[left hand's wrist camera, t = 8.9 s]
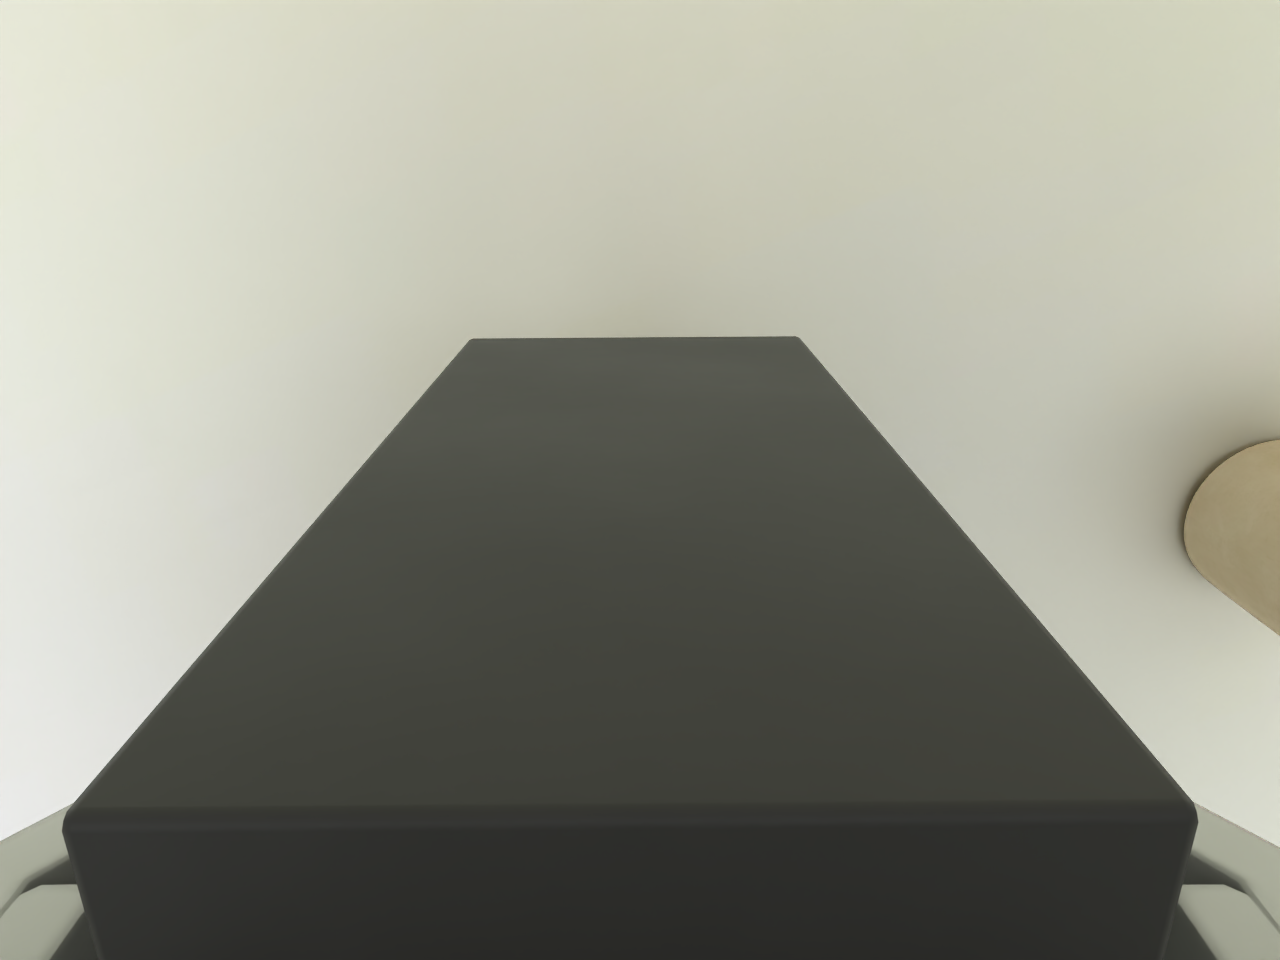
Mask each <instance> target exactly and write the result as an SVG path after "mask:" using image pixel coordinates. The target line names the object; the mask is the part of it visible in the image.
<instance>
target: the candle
mask: <svg viewBox="0 0 1280 960" xmlns="http://www.w3.org/2000/svg"><path fill="white" fill-rule="evenodd" d="M1184 542H1185V546H1186V551H1187V553H1188V556H1189V558H1190V560H1191V562H1192V563H1193V565H1194V566H1195V568H1196V569H1197V570H1198V571H1199V572H1200V573H1201V575H1202V576H1203V577H1204V578H1205V579H1206V580H1208V581H1209V582H1210V583H1211V584H1212V585H1214V586H1215V587H1216V588H1217V589H1219V590H1220V591H1221V592H1222V593H1224V594H1225V595H1226V596H1228V597H1229V598H1230V599H1231V600H1233V601H1234V602H1235V603H1237V604H1238V605H1239V606H1241V607H1242V608H1243V609H1245V610H1246V611H1247V612H1249V613H1250V614H1251V615H1253V616H1254V617H1255V618H1257V619H1258V620H1259V621H1261V622H1262V623H1263V624H1265V625H1266V626H1267V627H1269V628H1270V629H1271V630H1273V631H1274V632H1275V633H1277V634H1278V635H1279V636H1280V440H1274V441H1268V442H1264V443H1260V444H1257V445H1254V446H1251V447H1249V448H1246V449H1244V450H1242V451H1240V452H1238V453H1236V454H1235V455H1233V456H1232V457H1230V458H1228V459H1227V460H1226V461H1224V462H1223V463H1222V464H1220V465H1219V466H1218V467H1217V468H1216V469H1215V470H1214V471H1213V472H1212V473H1211V474H1210V475H1209V476H1208V477H1207V478H1206V479H1205V480H1204V482H1203V483H1202V484H1201V486H1200V487H1199V489H1198V490H1197V492H1196V493H1195V495H1194V497H1193V499H1192V501H1191V503H1190V505H1189V508H1188V511H1187V514H1186V519H1185V524H1184Z"/></svg>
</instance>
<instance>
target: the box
mask: <svg viewBox="0 0 1280 960" xmlns="http://www.w3.org/2000/svg"><path fill="white" fill-rule="evenodd" d="M1197 826H1198V816H1197V811H1196V808H1195V805H1194V803H1193V801H1192V800H1191V799H1190V798H1189V797H1188V796H1187V794H1186V793H1185V792H1184V791H1183V790H1182V788H1181V787H1180V786H1179V785H1178V784H1177V783H1176V781H1175V780H1174V779H1173V778H1172V777H1171V776H1170V774H1169V773H1168V772H1167V771H1166V770H1165V768H1164V767H1163V766H1162V765H1161V764H1160V763H1159V761H1158V760H1157V759H1156V758H1155V757H1154V755H1153V754H1152V753H1151V752H1150V751H1149V750H1148V748H1147V747H1146V746H1145V745H1144V744H1143V743H1142V741H1141V740H1140V739H1139V738H1138V737H1137V735H1136V734H1135V733H1134V732H1133V731H1132V730H1131V728H1130V727H1129V726H1128V725H1127V724H1126V722H1125V721H1124V720H1123V719H1122V718H1121V717H1120V715H1119V714H1118V713H1117V712H1116V711H1115V710H1114V708H1113V707H1112V706H1111V705H1110V704H1109V702H1108V701H1107V700H1106V699H1105V698H1104V697H1103V695H1102V694H1101V693H1100V692H1099V691H1098V689H1097V688H1096V687H1095V686H1094V685H1093V684H1092V682H1091V681H1090V680H1089V679H1088V678H1087V676H1086V675H1085V674H1084V673H1083V672H1082V671H1081V669H1080V668H1079V667H1078V666H1077V665H1076V664H1075V662H1074V661H1073V660H1072V659H1071V658H1070V656H1069V655H1068V654H1067V653H1066V652H1065V651H1064V649H1063V648H1062V647H1061V646H1060V645H1059V643H1058V642H1057V641H1056V640H1055V639H1054V638H1053V636H1052V635H1051V634H1050V633H1049V632H1048V631H1047V629H1046V628H1045V627H1044V626H1043V625H1042V623H1041V622H1040V621H1039V620H1038V619H1037V618H1036V616H1035V615H1034V614H1033V613H1032V612H1031V610H1030V609H1029V608H1028V607H1027V606H1026V605H1025V603H1024V602H1023V601H1022V600H1021V599H1020V598H1019V596H1018V595H1017V594H1016V593H1015V592H1014V590H1013V589H1012V588H1011V587H1010V586H1009V585H1008V583H1007V582H1006V581H1005V580H1004V579H1003V577H1002V576H1001V575H1000V574H999V573H998V572H997V570H996V569H995V568H994V567H993V566H992V565H991V563H990V562H989V561H988V560H987V559H986V557H985V556H984V555H983V554H982V553H981V552H980V550H979V549H978V548H977V547H976V546H975V544H974V543H973V542H972V541H971V540H970V539H969V537H968V536H967V535H966V534H965V533H964V531H963V530H962V529H961V528H960V527H959V526H958V524H957V523H956V522H955V521H954V520H953V519H952V517H951V516H950V515H949V514H948V513H947V511H946V510H945V509H944V508H943V507H942V506H941V504H940V503H939V502H938V501H937V500H936V498H935V497H934V496H933V495H932V494H931V493H930V491H929V490H928V489H927V488H926V487H925V486H924V484H923V483H922V482H921V481H920V480H919V478H918V477H917V476H916V475H915V474H914V473H913V471H912V470H911V469H910V468H909V467H908V465H907V464H906V463H905V462H904V461H903V460H902V458H901V457H900V456H899V455H898V454H897V453H896V451H895V450H894V449H893V448H892V447H891V445H890V444H889V443H888V442H887V441H886V440H885V438H884V437H883V436H882V435H881V434H880V432H879V431H878V430H877V429H876V428H875V427H874V425H873V424H872V423H871V422H870V421H869V420H868V418H867V417H866V416H865V415H864V414H863V412H862V411H861V410H860V409H859V408H858V407H857V405H856V404H855V403H854V402H853V401H852V399H851V398H850V397H849V396H848V395H847V394H846V392H845V391H844V390H843V389H842V388H841V386H840V385H839V384H838V383H837V382H836V381H835V379H834V378H833V377H832V376H831V375H830V374H829V372H828V371H827V370H826V369H825V368H824V366H823V365H822V364H821V363H820V362H819V361H818V359H817V358H816V357H815V356H814V355H813V353H812V352H811V351H810V350H809V349H808V348H807V346H806V345H805V344H804V343H803V342H802V341H801V339H800V338H798V337H796V336H793V337H649V338H506V339H471V340H469V342H468V343H467V344H466V345H465V346H464V347H463V349H462V350H461V351H460V352H459V353H458V354H457V356H456V357H455V358H454V359H453V360H452V361H451V363H450V364H449V365H448V366H447V367H446V368H445V370H444V371H443V372H442V373H441V374H440V375H439V377H438V378H437V379H436V380H435V381H434V382H433V384H432V385H431V386H430V387H429V388H428V389H427V391H426V392H425V393H424V394H423V395H422V396H421V398H420V399H419V400H418V401H417V402H416V404H415V405H414V406H413V407H412V408H411V409H410V411H409V412H408V413H407V414H406V415H405V416H404V418H403V419H402V420H401V421H400V422H399V423H398V425H397V426H396V427H395V428H394V429H393V430H392V432H391V433H390V434H389V435H388V436H387V437H386V439H385V440H384V441H383V442H382V443H381V444H380V446H379V447H378V448H377V449H376V450H375V451H374V453H373V454H372V455H371V456H370V457H369V458H368V460H367V461H366V462H365V463H364V464H363V465H362V467H361V468H360V469H359V470H358V471H357V473H356V474H355V475H354V476H353V477H352V478H351V480H350V481H349V482H348V483H347V484H346V485H345V487H344V488H343V489H342V490H341V491H340V492H339V494H338V495H337V496H336V497H335V498H334V499H333V501H332V502H331V503H330V504H329V505H328V506H327V508H326V509H325V510H324V511H323V512H322V513H321V515H320V516H319V517H318V518H317V519H316V520H315V522H314V523H313V524H312V525H311V526H310V527H309V529H308V530H307V531H306V532H305V533H304V534H303V536H302V537H301V538H300V539H299V540H298V542H297V543H296V544H295V545H294V546H293V547H292V549H291V550H290V551H289V552H288V553H287V554H286V556H285V557H284V558H283V559H282V560H281V561H280V563H279V564H278V565H277V566H276V567H275V568H274V570H273V571H272V572H271V573H270V574H269V575H268V577H267V578H266V579H265V580H264V581H263V582H262V584H261V585H260V586H259V587H258V588H257V589H256V591H255V592H254V593H253V594H252V595H251V596H250V598H249V599H248V600H247V601H246V602H245V604H244V605H243V606H242V607H241V608H240V609H239V611H238V612H237V613H236V614H235V615H234V616H233V618H232V619H231V620H230V621H229V622H228V623H227V625H226V626H225V627H224V628H223V629H222V630H221V632H220V633H219V634H218V635H217V636H216V637H215V639H214V640H213V641H212V642H211V643H210V644H209V646H208V647H207V648H206V649H205V650H204V651H203V653H202V654H201V655H200V656H199V657H198V658H197V660H196V661H195V662H194V663H193V664H192V665H191V667H190V668H189V669H188V670H187V671H186V673H185V674H184V675H183V676H182V677H181V678H180V680H179V681H178V682H177V683H176V684H175V685H174V687H173V688H172V689H171V690H170V691H169V692H168V694H167V695H166V696H165V697H164V698H163V699H162V701H161V702H160V703H159V704H158V705H157V706H156V708H155V709H154V710H153V711H152V712H151V713H150V715H149V716H148V717H147V718H146V719H145V720H144V722H143V723H142V724H141V725H140V726H139V727H138V729H137V730H136V731H135V732H134V733H133V734H132V736H131V737H130V738H129V739H128V740H127V742H126V743H125V744H124V745H123V746H122V747H121V749H120V750H119V751H118V752H117V753H116V754H115V756H114V757H113V758H112V759H111V760H110V761H109V763H108V764H107V765H106V766H105V767H104V768H103V770H102V771H101V772H100V773H99V774H98V775H97V777H96V778H95V779H94V780H93V781H92V782H91V784H90V785H89V786H88V787H87V788H86V789H85V791H84V792H83V793H82V794H81V795H80V796H79V798H78V799H77V800H76V801H75V802H74V803H73V805H72V806H71V807H70V808H69V809H68V811H67V812H66V815H65V817H64V820H63V826H62V834H63V837H64V841H65V844H66V848H67V851H68V855H69V859H70V862H71V866H72V869H73V873H74V876H75V880H76V883H77V887H78V890H79V894H80V897H81V901H82V904H83V908H84V911H85V915H86V918H87V922H88V925H89V929H90V932H91V936H92V940H93V943H94V947H95V950H96V954H97V957H98V960H1163V958H1164V954H1165V950H1166V946H1167V943H1168V939H1169V935H1170V931H1171V927H1172V923H1173V919H1174V915H1175V912H1176V908H1177V904H1178V900H1179V896H1180V892H1181V888H1182V884H1183V881H1184V877H1185V873H1186V869H1187V865H1188V861H1189V857H1190V853H1191V850H1192V846H1193V842H1194V838H1195V834H1196V830H1197Z"/></svg>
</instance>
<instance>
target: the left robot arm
mask: <svg viewBox="0 0 1280 960" xmlns="http://www.w3.org/2000/svg"><path fill="white" fill-rule="evenodd" d="M1193 803H1194V802H1193ZM72 805H73V804H71V805H69V806H67V807H65V808H63V809H61V810H60V811H58V812H56V813H54V814H52V815H50V816H48V817H46V818H44V819H42V820H40V821H38V822H36V823H35V824H33V825H31V826H29V827H27V828H25V829H23V830H21V831H19V832H17V833H15V834H13V835H11V836H9V837H8V838H6V839H4V840H2V841H0V960H98V957H97V954H96V950H95V947H94V943H93V940H92V936H91V932H90V929H89V925H88V922H87V918H86V915H85V911H84V908H83V904H82V901H81V897H80V894H79V890H78V887H77V883H76V880H75V876H74V873H73V869H72V866H71V862H70V859H69V855H68V851H67V848H66V844H65V841H64V837H63V834H62V826H63V820H64V817H65V815H66V812H67V811H68V809H69V808H70V807H71V806H72ZM1194 805H1195V808H1196V811H1197V816H1198V826H1197V830H1196V834H1195V838H1194V842H1193V846H1192V850H1191V853H1190V857H1189V861H1188V865H1187V869H1186V873H1185V877H1184V881H1183V884H1182V888H1181V892H1180V896H1179V900H1178V904H1177V908H1176V912H1175V915H1174V919H1173V923H1172V927H1171V931H1170V935H1169V939H1168V943H1167V946H1166V950H1165V954H1164V958H1163V960H1280V847H1278V846H1276V845H1274V844H1272V843H1270V842H1268V841H1266V840H1264V839H1262V838H1261V837H1259V836H1257V835H1255V834H1253V833H1251V832H1249V831H1247V830H1245V829H1243V828H1242V827H1240V826H1238V825H1236V824H1234V823H1232V822H1230V821H1228V820H1226V819H1224V818H1223V817H1221V816H1219V815H1217V814H1215V813H1213V812H1211V811H1209V810H1207V809H1205V808H1204V807H1202V806H1200V805H1198V804H1196V803H1194Z"/></svg>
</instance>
